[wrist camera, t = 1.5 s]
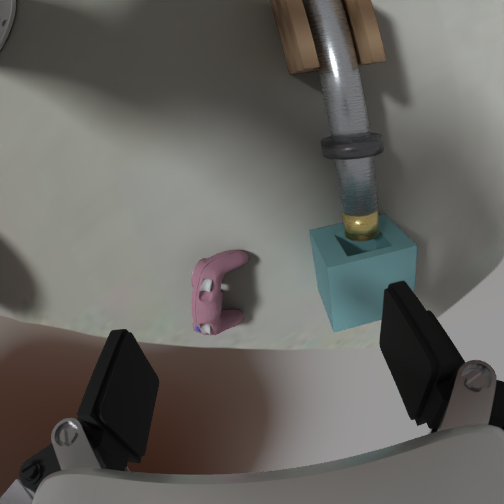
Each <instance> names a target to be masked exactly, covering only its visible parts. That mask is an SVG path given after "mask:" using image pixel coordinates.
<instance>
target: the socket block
mask: <svg viewBox="0 0 504 504" xmlns="http://www.w3.org/2000/svg"><path fill="white" fill-rule="evenodd" d="M378 219H379V234H378V236H377V237H376V238H374V239H372V240H368V241H352V240H350V239H348V238H346V237H345V234H344V225H343V223H341V224H336V225H332V226H327V227H323V228H318V229H314V230H309V231H310V237H311V244H312V250H313V256H314V263H315V270H316V277H317V284H318V290H319V293H320V295H321V298H322V301H323V304H324V306H325V309H326V312H327V315H328V318H329V320H330V323H331V326H332V329H333V332H337V331H341V330H345V329H348V328H352V327H356V326H360V325H363V324H367V323H370V322H374V321H377V320H381V319H382V311H383V298H384V290H385V289H387V288H388V285H389V284H390V283H394V282H399V281H405V282H406V283H407V284H408V286H409V287H410V288H411V290H412V291H413V293H414V286H415V274H416V259H417V245H416V244H415V243H414V242H413V241H412V240H411V239H410V238H409V237H408V236H407V235H406V234H405V233H404V232H403V231H402V230H401V229H400V228H399V227H398V226H397V225H396V224H395V223H394V222H393V221H392V220H391V219H390V218H389V217H388V216H387V215H386V214H382V215H378Z"/></svg>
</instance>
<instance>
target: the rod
mask: <svg viewBox="0 0 504 504" xmlns="http://www.w3.org/2000/svg"><path fill="white" fill-rule="evenodd" d="M302 2H303V5H304V8H305V12H306V15H307V19H308V22H309V26H310V30H311V33H312V37H313V41H314V45H315V49H316V53H317V57H318V61H319V66H320V67H317V68H318V72H319V77H320V81H321V86H322V91H323V95H324V100H325V105H326V110H327V115H328V121H329V126H330V132H331V136H330V137H327V138H324V139H323V140H321V147H322V152H323V156H324V157H326V158H329V159H335V162H336V168H337V175H338V182H339V190H340V197H341V205H342V216H343V225H344V234H345V237H346V238H348V239H350V240H352V241H368V240H372V239H374V238H376V237H377V236H378V234H379V219H378V206H377V192H376V180H375V170H374V161H373V156H375V155H378V154H380V153H382V152H383V141H382V135H380V134H377V133H370V129H369V122H368V116H367V110H366V104H365V98H364V92H363V87H362V82H361V77H360V72H359V67H358V63H357V58H356V54H355V49H354V45H353V41H352V37H351V33H350V29H349V26H348V22H347V18H346V15H345V11H344V8H343V4H342V1H341V0H302Z"/></svg>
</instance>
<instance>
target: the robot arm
mask: <svg viewBox="0 0 504 504" xmlns="http://www.w3.org/2000/svg"><path fill="white" fill-rule="evenodd" d="M15 11H16V0H0V50H1V48H2V47H3V45H4V43H5V41H6V39H7V37H8V35H9V32H10V30H11V27H12V24H13V21H14V17H15ZM380 348H381V351H382V353H383V356H384V358H385V360H386V362H387V365H388V367H389V369H390V371H391V374H392V376H393V378H394V381H395V383H396V385H397V388H398V390H399V393H400V395H401V397H402V400H403V402H404V405H405V407H406V410H407V412H408V415H409V417H410V418H411V420H414V419H415V421H416V423H417V426H418V425H421V424H424V423H427V425H428V427H429V428H430V429H431V430H430V433H429V434H428V435H425V436H422V437H419V438H415V439H412V440H409V441H406V442H403V443H400V444H397V445H393V446H390V447H387V448H383V449H379V450H376V451H372V452H368V453H364V454H361V455H357V456H353V457H349V458H344V459H340V460H335V461H330V462H325V463H320V464H315V465H309V466H303V467H297V468H290V469H283V470H275V471H267V472H255V473H242V474H226V475H171V474H153V473H140V472H130V471H129V470H128V468H127V462H135V463H140V461H141V457H142V456H144V455H145V451H146V447H147V441H148V436H149V431H150V426H151V421H152V416H153V411H154V406H155V401H156V397H157V392H158V387H159V379H158V376H157V375H156V373H155V372H154V370H153V368H152V367H151V365H150V363H149V362H148V360H147V358H146V357H145V355H144V353H143V352H142V350H141V348H140V346H139V345H138V343H137V341H136V339H135V338H134V336H133V334H132V333H131V332H128V331H127V330H126V329H120V330H112V331H111V332H110V334H109V336H108V339H107V341H106V343H105V345H104V348H103V350H102V352H101V355H100V357H99V359H98V362H97V364H96V367H95V369H94V371H93V374H92V376H91V379H90V381H89V384H88V386H87V389H86V391H85V394H84V397H83V399H82V402H81V405H80V407H79V410H78V413H77V415H78V419H77V420H76V419H73V418H66V419H64V420H61V421H60V422H59V423H58V424H57V425H56V426H55V427H54V429H53V432H52V436H51V439H52V444H50V445H49V446H47V447H46V448H44V449H43V450H41V451H40V452H38V453H37V454H35V455H34V456H32V457H31V458H29V459H28V460H26V461H25V462H24V463H23V465H22V466H21V469H20V475H19V476H20V481H19V480H18V479H16V481H15V482H14V483H13V484H12V485H11V486H10V487H9V489H8V490H7V491H6V492H5V493H4V494H3V496H2V497H1V498H0V504H504V382H502V381H499V380H496V374H495V371H494V369H493V368H492V367H491V366H490V365H489V364H487V363H486V362H483V361H481V360H471V361H468V362H466V363H465V361H464V360H463V358H462V357H461V355H460V353H459V352H458V350H457V349H456V347H455V346H454V344H453V342H452V341H451V339H450V338H449V336H448V335H447V333H446V332H445V330H444V329H443V327H442V326H441V324H440V323H439V322H438V320H437V319H436V317H435V316H434V314H433V313H432V312H431V311H429V310H428V311H426V310H425V308H424V307H423V305H422V304H421V302H420V301H419V300H418V298H417V297H416V295H415V294H414V293H413V291H412V290H411V288H410V287H409V286H408V284H407V283H406V282H405V281H399V282H394V283H390V284H389V285H388V288H387V289H385V290H384V298H383V311H382V322H381V332H380Z"/></svg>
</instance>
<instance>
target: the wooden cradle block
mask: <svg viewBox="0 0 504 504" xmlns="http://www.w3.org/2000/svg"><path fill="white" fill-rule="evenodd" d="M341 1H342V4H343V8H344V11H345V15H346V18H347V22H348V26H349V29H350V33H351V37H352V41H353V45H354V49H355V54H356V58H357V63H358V66H362V65H367V64H373V63H380V62H386V57H385V53H384V48H383V44H382V40H381V36H380V32H379V28H378V24H377V20H376V16H375V13H374V9H373V6H372V3H371V0H341ZM270 4H271V7H272V10H273V14H274V17H275V21H276V24H277V28H278V32H279V35H280V39H281V43H282V47H283V50H284V54H285V58H286V62H287V66H288V70H289V75H291V74H297V73H303V72H310V71H318V68H317V67H320V66H319V61H318V57H317V53H316V49H315V45H314V41H313V37H312V33H311V30H310V26H309V22H308V19H307V15H306V12H305V8H304V5H303V2H302V0H270Z"/></svg>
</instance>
